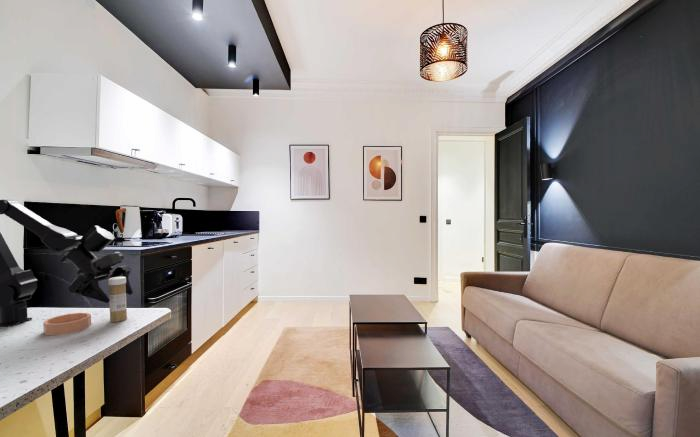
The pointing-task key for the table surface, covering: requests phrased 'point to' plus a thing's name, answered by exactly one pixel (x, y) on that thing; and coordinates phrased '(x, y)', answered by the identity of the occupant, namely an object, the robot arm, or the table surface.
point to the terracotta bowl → (67, 323)
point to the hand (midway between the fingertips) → (120, 297)
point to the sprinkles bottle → (117, 299)
